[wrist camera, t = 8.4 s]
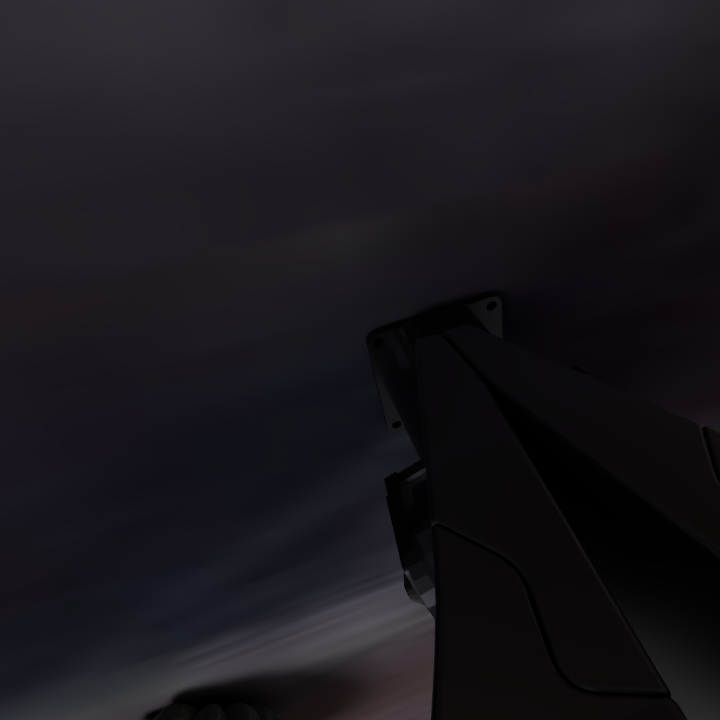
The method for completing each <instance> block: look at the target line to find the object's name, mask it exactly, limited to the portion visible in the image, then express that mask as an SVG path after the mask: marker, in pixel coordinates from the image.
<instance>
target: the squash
mask: <svg viewBox="0 0 720 720" xmlns="http://www.w3.org/2000/svg"><path fill="white" fill-rule="evenodd" d="M148 720H283V719H282V718H281V717H280V716H279V715H278V714H276V713H275V712H274V711H272V710H270V709H269V708H266V707H263V706H248V705H247V704H244V703H235V704H232V705H230V706H228V707H227V708H226V709H225V710H224V711H223V709H222V708H221V707H220V706H219V705H217V704H209V705H207V706H206V707H204V708H203V709H202V710H201V711H200V712H198V710H197V709H196V708H194V707H193V706H190V705H188V704H173V705H169V706H167V707H166V708H164V709H162V711H161V712H160V713H159V714H158V715H157V716H156V717H153V718H150V719H148Z"/></svg>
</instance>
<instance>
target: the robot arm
mask: <svg viewBox="0 0 720 720" xmlns="http://www.w3.org/2000/svg"><path fill="white" fill-rule="evenodd" d="M491 301H493V302H492V303H491V305H489V306H487V305H488V303H489V302H491ZM377 339H381V340H380V341H379V342H378V343H374V342H375V340H377ZM366 344H367V348H368V352H369V356H370V360H371V365H372V369H373V373H374V377H375V381H376V386H377V390H378V394H379V398H380V402H381V406H382V411H383V415H384V419H385V423H386V425H387V427H388V429H389V430H390V431H391V432H397V431H400V430H403V429H406V431H407V433H408V435H409V437H410V439H411V441H412V443H413V445H414V447H415V449H416V451H417V454H418V456H419V458H420V460H419V461H418V462H416V463H414V464H413V465H411V466H409V467H408V468H406V469H404V470H403V471H401V472H399V473H398V474H397V473H396V472H395V473H393V474H391V475H390V476H388V477H386V478H385V479H384V480H385V485H386V489H387V493H388V496H386V499H387V503H388V508H389V512H390V516H391V521H392V525H393V530H394V534H395V538H396V543H397V547H398V552H399V556H400V560H401V565H402V568H403V570H404V587H405V590H406V592H407V594H408V596H409V597H410V599H411V600H412V601H415V602H417V603H420V604H422V605H425V606H426V608H427V609H428V610H429V612H430V613H431V614H432V616H433V617H434V619H435V653H434V673H433V692H432V711H431V720H720V431H718V430H715V429H713V428H711V427H708V426H706V427H703V428H702V426H701V424H700V423H698V422H696V421H694V420H691V419H689V418H687V417H684V416H682V415H680V414H677V413H675V412H673V411H670V410H668V409H666V408H663V407H661V406H659V405H656V404H654V403H652V402H649V401H647V400H645V399H642V398H640V397H638V396H635V395H633V394H631V393H628V392H626V391H624V390H621V389H619V388H617V387H614V386H612V385H610V384H607V383H605V382H603V381H600V380H598V379H596V378H593V377H591V376H589V375H588V374H586V373H585V372H583V371H582V370H581V369H579V368H578V367H577V366H575V365H574V366H572V367H571V368H570V367H568V366H565V365H563V364H561V363H558V362H556V361H554V360H551V359H549V358H547V357H544V356H542V355H540V354H537V353H535V352H533V351H530V350H528V349H526V348H523V347H521V346H519V345H516V344H514V343H512V342H509V341H507V340H504V339H503V337H502V302H501V299H500V298H499V297H498V296H497V295H496V294H495V293H493V292H489V293H485V294H482V295H479V296H476V297H473V298H470V299H467V300H464V301H461V302H456V303H453V304H450V305H447V306H444V307H441V308H438V309H435V310H432V311H429V312H426V313H423V314H420V315H417V316H414V317H411V318H409V319H406V320H403V321H400V322H397V323H394V324H390V325H387V326H384V327H381V328H378V329H375V330H373V331H371V332H370V333H369V334H368V335H367V337H366ZM396 421H397V422H396ZM394 422H396V423H394Z"/></svg>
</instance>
